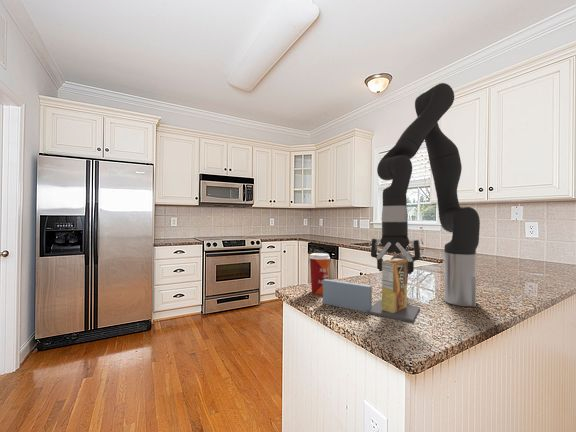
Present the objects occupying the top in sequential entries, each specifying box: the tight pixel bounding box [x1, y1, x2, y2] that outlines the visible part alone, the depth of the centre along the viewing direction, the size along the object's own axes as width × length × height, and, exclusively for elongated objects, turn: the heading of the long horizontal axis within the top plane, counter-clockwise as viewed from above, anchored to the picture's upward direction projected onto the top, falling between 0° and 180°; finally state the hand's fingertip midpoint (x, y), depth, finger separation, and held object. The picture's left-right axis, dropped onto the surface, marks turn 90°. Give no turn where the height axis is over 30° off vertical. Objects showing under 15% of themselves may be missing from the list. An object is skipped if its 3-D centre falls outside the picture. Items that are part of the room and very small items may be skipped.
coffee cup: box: [308, 252, 331, 296], centre depth 106 cm, size 8×8×15 cm
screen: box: [322, 278, 373, 313], centre depth 89 cm, size 16×2×8 cm, turn 57°
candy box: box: [381, 258, 408, 313], centre depth 85 cm, size 9×4×15 cm, turn 132°
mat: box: [366, 299, 421, 323], centre depth 85 cm, size 13×13×1 cm
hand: (394, 272), depth 85 cm, fingers open, 8 cm apart
